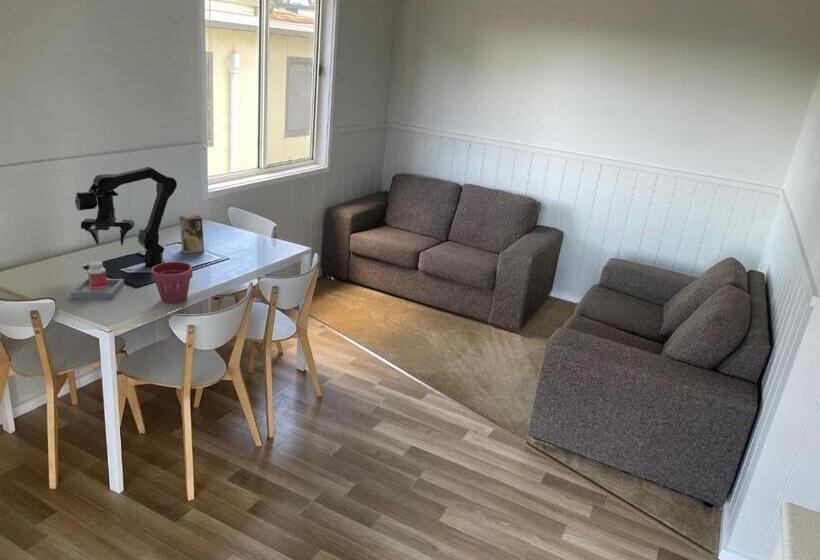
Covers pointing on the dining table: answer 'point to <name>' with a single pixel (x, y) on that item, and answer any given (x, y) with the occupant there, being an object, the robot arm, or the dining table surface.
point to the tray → (84, 291)
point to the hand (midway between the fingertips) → (110, 244)
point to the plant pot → (172, 281)
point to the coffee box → (191, 234)
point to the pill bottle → (97, 277)
